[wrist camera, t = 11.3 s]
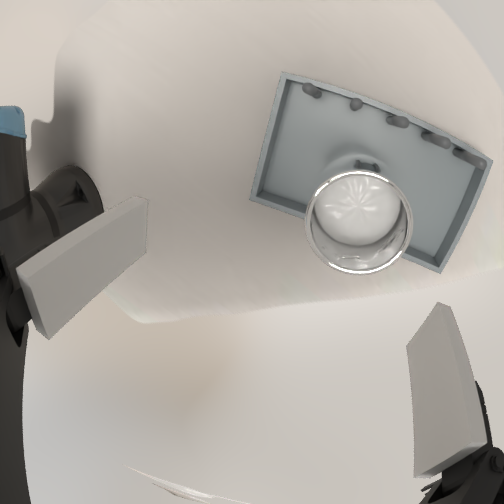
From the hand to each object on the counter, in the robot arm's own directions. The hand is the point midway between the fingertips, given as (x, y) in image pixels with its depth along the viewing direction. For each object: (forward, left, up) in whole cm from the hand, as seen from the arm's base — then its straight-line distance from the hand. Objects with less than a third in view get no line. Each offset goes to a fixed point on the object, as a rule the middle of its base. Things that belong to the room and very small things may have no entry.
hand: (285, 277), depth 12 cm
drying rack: (+5, +2, -22) cm, 23 cm away
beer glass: (+3, +1, -21) cm, 22 cm away
